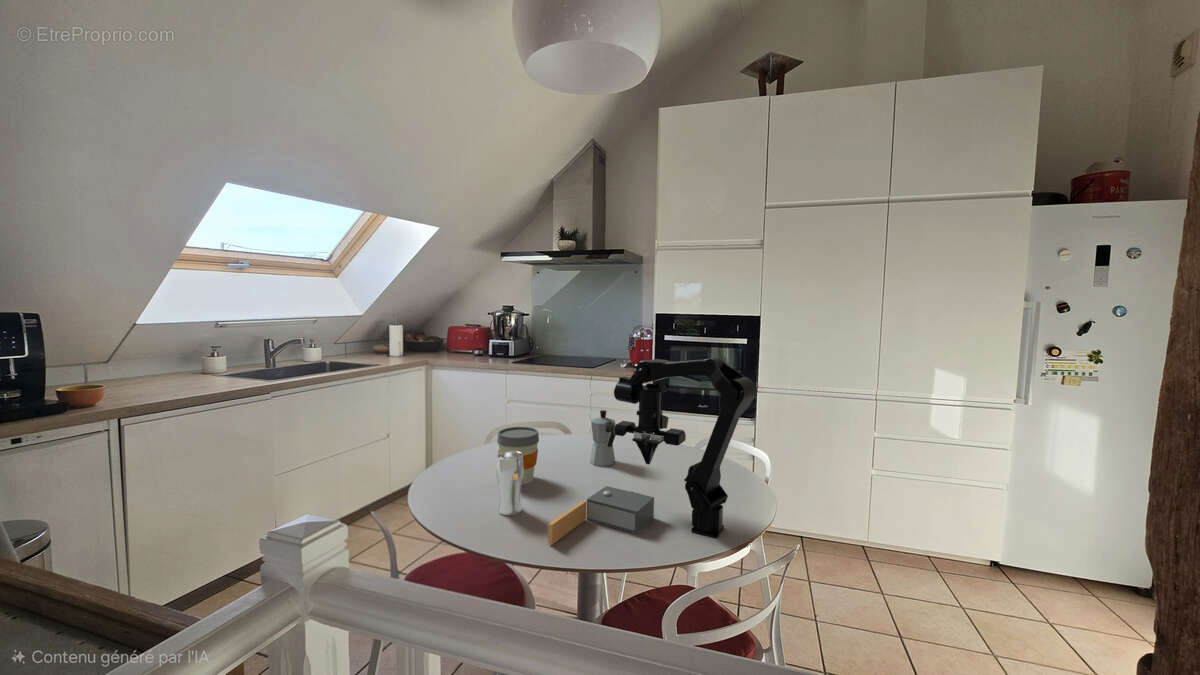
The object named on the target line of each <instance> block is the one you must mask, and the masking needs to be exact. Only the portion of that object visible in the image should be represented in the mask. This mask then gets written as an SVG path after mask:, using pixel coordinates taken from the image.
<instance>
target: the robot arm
mask: <svg viewBox="0 0 1200 675" xmlns="http://www.w3.org/2000/svg"><path fill="white" fill-rule="evenodd" d="M686 376H687V377H688V376H689V377H690V376H706V377H707V378H708V379H709V381H710V383H711V385H712V386H713V388H714V389H715V390H716V391H717V392H718V393H719V398H718V406H719V413H718V416H717V418H716V421H715V424H714V427H713V430H712V432H711V435H710V437H709V440H708V442H707V444H706V448H705V451H704V453H703V455H702V459H701V461H699V462H697V463H694V464H692V465H690V466H688V470H687V475H686V477H685V478H684V480H683V481H684V482H685V484H684V489H685V491H686V493H687V495H688V496H687V497H688V500H689V503H690V507H691V508H692V510H691V526H692V528H691V529H690V531H691V532H692V533H697V534H700V535H703V536H707V537H712V538H715V539H717V538H719V536H720V535H721V533H722V532H723V530H724V529H725V525H724V524H723V516H724V514H723V513H724V505H723V504H726V503H727V500H728V498H729V495H728V494H727V492H726V491H725V489H724V488H723V487H722V486H721V483H720V482H721V479H722V476H721V475H722V474H721V466H722V462H723V460H724V459H725V458H724V457H725V455H726V452H727V450H728V447H729V445H730V443H731V440H732V438H733V434H734V432H735V430H736V427H737V425H738V422H739V421H740V418H741V416H742V415H743V414H744V412H746V411H747V410H748V408H749V407H750V406H751V404H752V402H753V401H754V399H755V397H756V396H757V393H758V387H757V385H756V383H755V382H754V381H753V380H752V379H751V378H749V377H746V376H744V375H743V374H742V373H741V372H740V371H738V370H736V369H735V368H733V367H732V366H730V365H728V364H727V363H726V362H725V361H724V360H722V359H721V358H720V357H710V358H706V359H703V358H702V359H692V360H679V361H670V360H667V359H661V358H660V359H659V358H653V359H647V360H640V361H638V363H637V365H636V368H635V371H634V372H633V373H632V375H631V377H628V376H620V377H619V378H618V382H616V384H615V387H614V389H613V396H614V399H615V400H616V401H619V402H624V403H628V404H635V405H637V404H638V410H636V416H638V425H637V426H636V423H635V422H634V421H627V420H622V421H620V422H618V423H615V426H614V435H616V436H618V437H624V436H625V435H627V433H629V434H633V438H632V442H635V444H636V446H637V448H638V449H639V451H640V453H641V455H642V456H641V457H643V460H644V463H645V464H646V465H651V462H652V460H653V457H654V454H655V452H656V450H657V448H658V446H659V445H660V444H662V443H663V442H664V443H665V444H666V445H670V446H680V445H681V444H683V443H684V442H686V441H687V440H686V438H687V437H686V436H687V435H686V432H685V430H684V429H678V428H671V427H670V429H668V425H669V424H668V423H669V418H670V417H669V416H666V415H664V414H663V409H661V402H662V400H661V399H662V393H664V392H668V391H669V388H668V387H667V386H666V385H665V384H664V382H663V381H661V382H657V383H653V382H656V381H660V380H664V379H668V378H670V377H671V378H674V377H686ZM651 382H652V383H651ZM644 384H645V385H644ZM663 429H668V430H666V431H665V430H663Z"/></svg>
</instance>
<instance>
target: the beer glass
mask: <svg viewBox="0 0 1200 675" xmlns="http://www.w3.org/2000/svg"><path fill="white" fill-rule="evenodd" d="M496 457H497V459H496V471H495V473H496V480H497V481H496V482H497V486H498V493H499V505H498V513H499V514H500V515H502V516H507V517H509V516H516V515H519V514H520V513H521V512H522V510H523V507H522V503H521V492H522V487H523V485H522V482H523V472H524V468H523V454H522V453H520V452H516V451H507V452H502V453H500V454H497V456H496Z"/></svg>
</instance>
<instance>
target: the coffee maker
mask: <svg viewBox="0 0 1200 675" xmlns="http://www.w3.org/2000/svg"><path fill="white" fill-rule="evenodd" d="M607 412H608V411H607V410H605V409H604V410H603V409H602V410H599V413H600V417H595V418H593V419H590V423H591V432H592V440H593V443H592V447H591V453H590V459H589V463H590V464H591V465H593V466H594V467H602V468H604V467H611V466H613V465H614V464H615V463H616V458H615V451H614V440H615V438H616V436H617V435H614V426H615V425H616V420H615V419H612V418H609V417H607V416H606V415H607Z"/></svg>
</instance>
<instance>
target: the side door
mask: <svg viewBox="0 0 1200 675" xmlns="http://www.w3.org/2000/svg"><path fill="white" fill-rule="evenodd" d="M585 520H587V500H582V501H580V502H578V503H577V504H575V505H574V506H573V507H571V508H570V509H568V510H567V511H565V512H564V513H562V514H561V515H560V516H558V517H557V518H555V519H553V520H552V521H550V522H549V523H548V524H547V538H548V542H547V543H548V545H554V544H555V543H556V542H558V541H559V540H560V539H561V538H563V537H564V536H565V535H567V534H568V533H569V532H571V531H572V530H573V529H575V528H577V526H579V525H580V524H582V523H583V522H584V521H585Z"/></svg>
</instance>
